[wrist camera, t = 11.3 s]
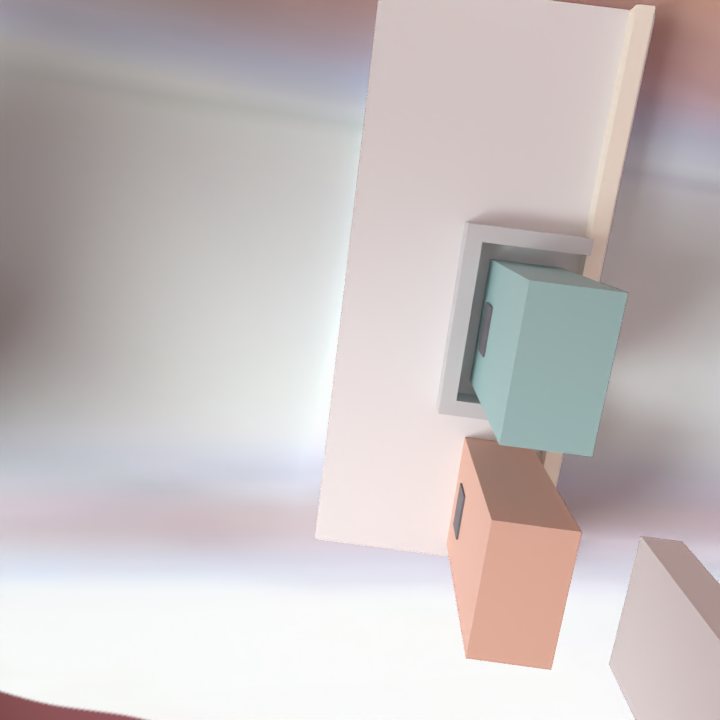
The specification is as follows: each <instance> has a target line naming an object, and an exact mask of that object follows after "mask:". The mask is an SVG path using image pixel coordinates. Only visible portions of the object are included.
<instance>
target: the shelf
mask: <svg viewBox="0 0 720 720" xmlns="http://www.w3.org/2000/svg"><path fill="white" fill-rule="evenodd" d="M654 11H655V6H650V5H642V4H637V5H636V6H635V7H633V8H632V9H631V10H625V9H617V8H609V7H601V6H592V5H584V4H576V3H568V2H560V1H552V0H378V6H377V15H376V23H375V32H374V40H373V49H372V57H371V66H370V74H369V83H368V91H367V100H366V108H365V116H364V125H363V133H362V142H361V150H360V159H359V167H358V176H357V184H356V193H355V201H354V210H353V218H352V227H351V235H350V244H349V252H348V261H347V269H346V278H345V286H344V295H343V303H342V312H341V320H340V329H339V337H338V345H337V354H336V362H335V371H334V379H333V388H332V396H331V405H330V413H329V422H328V430H327V439H326V447H325V456H324V464H323V473H322V481H321V490H320V498H319V507H318V515H317V524H316V532H315V539H320V540H327V541H335V542H342V543H350V544H357V545H365V546H372V547H380V548H387V549H394V550H402V551H409V552H417V553H424V554H432V555H439V556H447V557H449V555H448V549H447V538H448V532H449V526H450V521H451V515H452V509H453V503H454V497H455V491H456V485H457V480H458V474H459V468H460V462H461V456H462V450H463V444H464V439H465V437H470V438H477V439H485V440H493V441H497V439H496V436H495V434H494V432H493V430H492V428H491V425H490V423H489V421H488V419H487V417H486V414H485V412H484V410H483V408H482V406H481V403H480V401H479V399H478V397H477V395H476V392H475V390H474V388H473V386H472V384H471V381H470V376H471V370H472V364H473V358H474V352H475V346H476V340H477V334H478V328H479V322H480V316H481V310H482V304H483V299H484V293H485V287H486V281H487V275H488V269H489V263H490V259H496V260H504V261H512V262H520V263H528V264H536V265H544V266H551V267H559V268H563V269H566V270H569V271H571V272H574V273H576V274H579V275H582V276H584V277H587V278H590V279H592V280H595V281H598V282H600V278H601V273H602V269H603V264H604V259H605V254H606V250H607V245H608V240H609V235H610V230H611V226H612V221H613V216H614V211H615V207H616V202H617V197H618V192H619V188H620V183H621V178H622V173H623V168H624V164H625V159H626V154H627V149H628V145H629V140H630V135H631V130H632V125H633V121H634V116H635V111H636V106H637V102H638V97H639V92H640V87H641V83H642V78H643V73H644V68H645V63H646V59H647V54H648V49H649V44H650V40H651V35H652V30H653V25H654V21H655V16H656V13H654ZM534 451H535V453H536V455H537V456H538V458H539V460H540V461H541V463H542V465H543V467H544V468H545V470H546V472H547V473H548V475H549V477H550V479H551V480H552V482H553V484H554V485H555V487H556V488H557V483H558V479H559V474H560V469H561V464H562V459H563V455H564V453H558V452H550V451H543V450H535V449H534Z"/></svg>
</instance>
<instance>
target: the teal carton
mask: <svg viewBox="0 0 720 720" xmlns="http://www.w3.org/2000/svg"><path fill="white" fill-rule="evenodd" d="M627 296H628V293H627V292H624V291H622V290H619V289H616V288H614V287H611V286H608V285H606V284H603V283H600V282H598V281H595V280H592V279H590V278H587V277H584V276H582V275H579V274H576V273H574V272H571V271H569V270H566V269H563V268H559V267H551V266H544V265H536V264H528V263H520V262H512V261H504V260H496V259H490V263H489V269H488V275H487V281H486V287H485V293H484V299H483V304H482V310H481V316H480V322H479V328H478V334H477V340H476V346H475V352H474V358H473V364H472V370H471V376H470V381H471V384H472V386H473V388H474V390H475V392H476V395H477V397H478V399H479V401H480V403H481V406H482V408H483V410H484V412H485V414H486V417H487V419H488V421H489V423H490V425H491V428H492V430H493V432H494V434H495V436H496V439H497V441H498V443H499V445H504V446H512V447H520V448H527V449H535V450H543V451H550V452H558V453H565V454H573V455H581V456H588V457H592V456H593V451H594V447H595V442H596V437H597V433H598V428H599V424H600V419H601V415H602V410H603V406H604V401H605V396H606V392H607V387H608V383H609V378H610V374H611V369H612V365H613V360H614V355H615V351H616V346H617V342H618V337H619V333H620V328H621V324H622V319H623V315H624V310H625V305H626V301H627Z"/></svg>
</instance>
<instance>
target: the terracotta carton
mask: <svg viewBox="0 0 720 720" xmlns="http://www.w3.org/2000/svg"><path fill="white" fill-rule="evenodd" d="M581 534H582V532H581V530H580V528H579V526H578V525H577V523H576V521H575V520H574V518H573V516H572V514H571V513H570V511H569V509H568V508H567V506H566V504H565V502H564V501H563V499H562V497H561V496H560V494H559V492H558V490H557V489H556V487H555V485H554V484H553V482H552V480H551V479H550V477H549V475H548V473H547V472H546V470H545V468H544V467H543V465H542V463H541V461H540V460H539V458H538V456H537V455H536V453H535V451H534V449H527V448H520V447H512V446H504V445H499V443H498V441H493V440H485V439H477V438H470V437H465V439H464V444H463V450H462V456H461V462H460V468H459V474H458V480H457V485H456V491H455V497H454V503H453V509H452V515H451V521H450V526H449V532H448V538H447V549H448V555H449V561H450V567H451V573H452V579H453V585H454V590H455V596H456V602H457V608H458V614H459V620H460V626H461V632H462V638H463V644H464V650H465V656H466V658H468V659H476V660H483V661H490V662H498V663H505V664H512V665H520V666H527V667H534V668H542V669H549V670H551V668H552V664H553V659H554V655H555V650H556V646H557V641H558V637H559V632H560V628H561V623H562V619H563V614H564V610H565V605H566V601H567V596H568V592H569V587H570V583H571V579H572V574H573V570H574V565H575V561H576V556H577V552H578V547H579V543H580V538H581Z"/></svg>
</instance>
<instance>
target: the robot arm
mask: <svg viewBox="0 0 720 720" xmlns="http://www.w3.org/2000/svg"><path fill="white" fill-rule="evenodd" d="M609 666H610V668H611V670H612V672H613V674H614V676H615V678H616V680H617V683H618V685H619V687H620V689H621V691H622V693H623V695H624V697H625V699H626V701H627V704H628V706H629V708H630V710H631V712H632V714H633V716H634V718H635V720H720V584H719V583H718V582H717V581H716V580H715V579H714V577H713V576H712V575H711V574H710V573H709V572H708V571H707V569H706V568H705V567H704V566H703V565H702V564H701V562H700V561H699V560H698V559H697V558H696V557H695V555H694V554H693V553H692V552H691V551H690V550H689V549H688V547H687V546H686V545H685V544H684V543H683V542H682V541H675V540H667V539H660V538H652V537H645V536H641V537H640V541H639V545H638V549H637V553H636V557H635V561H634V565H633V569H632V573H631V577H630V581H629V585H628V589H627V594H626V598H625V602H624V606H623V610H622V614H621V618H620V622H619V626H618V630H617V634H616V638H615V642H614V646H613V650H612V654H611V658H610V662H609Z"/></svg>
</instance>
